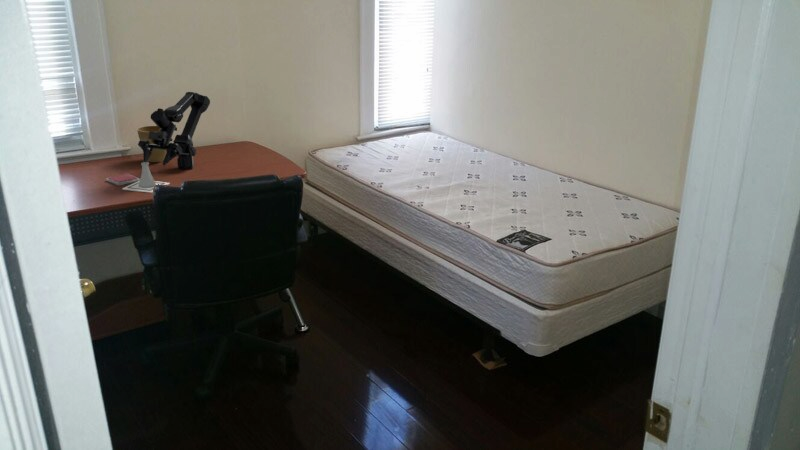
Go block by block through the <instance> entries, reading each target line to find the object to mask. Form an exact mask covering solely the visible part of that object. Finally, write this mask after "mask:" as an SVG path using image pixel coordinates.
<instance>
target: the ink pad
mask: <svg viewBox="0 0 800 450" xmlns="http://www.w3.org/2000/svg"><path fill="white" fill-rule="evenodd" d="M105 181H106V182H108V183H110V184H113V185H116V186H124V185H127V184H128V185H129V184H133V183H135V182H138V181H140V178H139V177H138V176H137V177H136V176H135V175H131V174H129V173H125V174H119V175H114V176H109V177H106V178H105Z"/></svg>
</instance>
